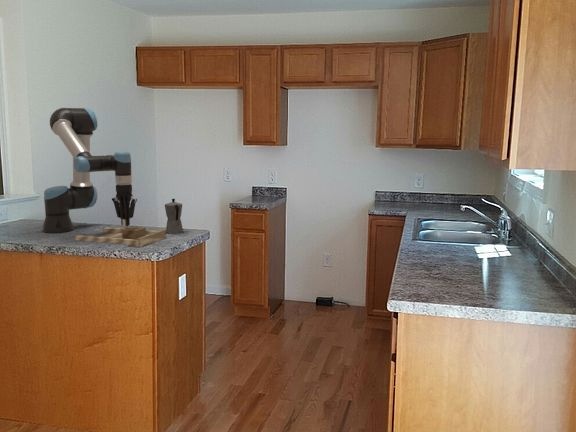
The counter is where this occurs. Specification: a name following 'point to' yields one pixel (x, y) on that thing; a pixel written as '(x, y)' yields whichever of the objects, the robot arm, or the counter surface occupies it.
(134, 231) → the walnut block
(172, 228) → the coffeepot
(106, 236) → the wooden cutlery tray
